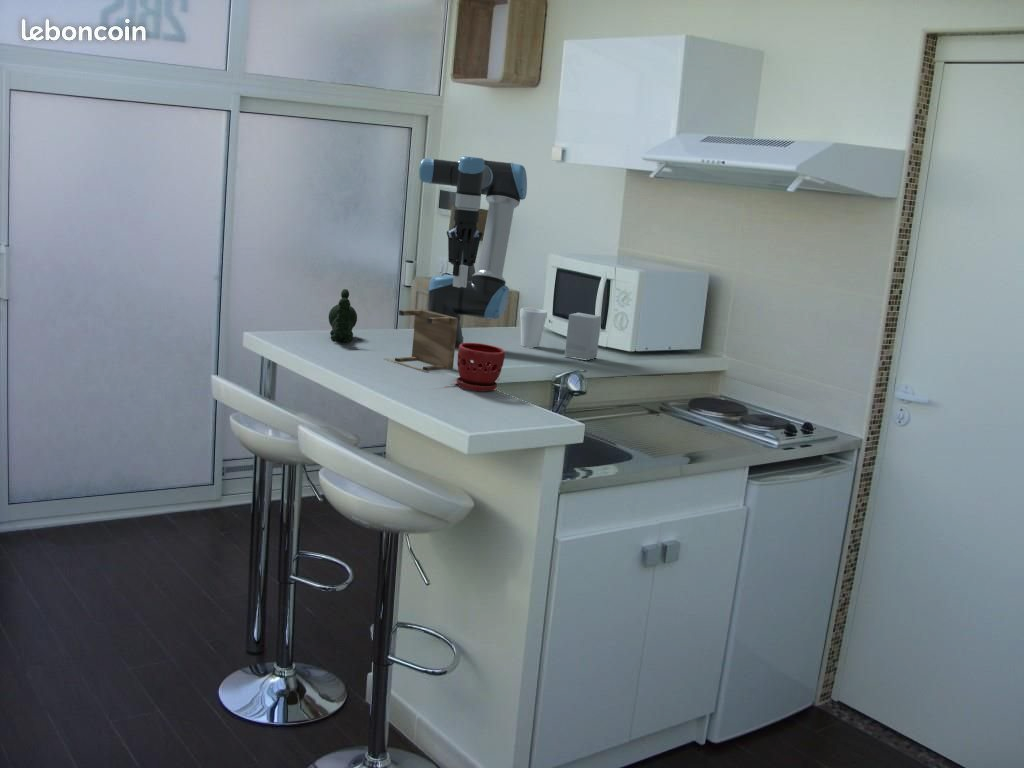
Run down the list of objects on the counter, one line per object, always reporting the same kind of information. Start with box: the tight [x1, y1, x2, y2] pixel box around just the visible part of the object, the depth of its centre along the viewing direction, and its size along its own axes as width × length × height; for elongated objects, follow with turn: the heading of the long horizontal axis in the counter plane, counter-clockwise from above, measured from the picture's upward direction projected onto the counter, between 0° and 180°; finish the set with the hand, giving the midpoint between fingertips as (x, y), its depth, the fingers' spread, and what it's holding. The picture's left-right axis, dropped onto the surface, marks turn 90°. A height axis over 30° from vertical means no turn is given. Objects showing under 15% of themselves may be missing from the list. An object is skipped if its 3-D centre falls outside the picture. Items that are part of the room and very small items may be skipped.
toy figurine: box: [328, 288, 358, 343], centre depth 363 cm, size 9×19×25 cm
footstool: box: [394, 308, 458, 371], centre depth 331 cm, size 10×16×16 cm, turn 47°
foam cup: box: [519, 307, 548, 348], centre depth 389 cm, size 10×9×13 cm
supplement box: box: [564, 312, 602, 361], centre depth 378 cm, size 9×9×15 cm
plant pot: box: [456, 342, 506, 392], centre depth 311 cm, size 13×13×12 cm
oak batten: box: [383, 358, 430, 373], centre depth 328 cm, size 2×19×1 cm, turn 47°
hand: (459, 286), depth 337 cm, fingers open, 2 cm apart
